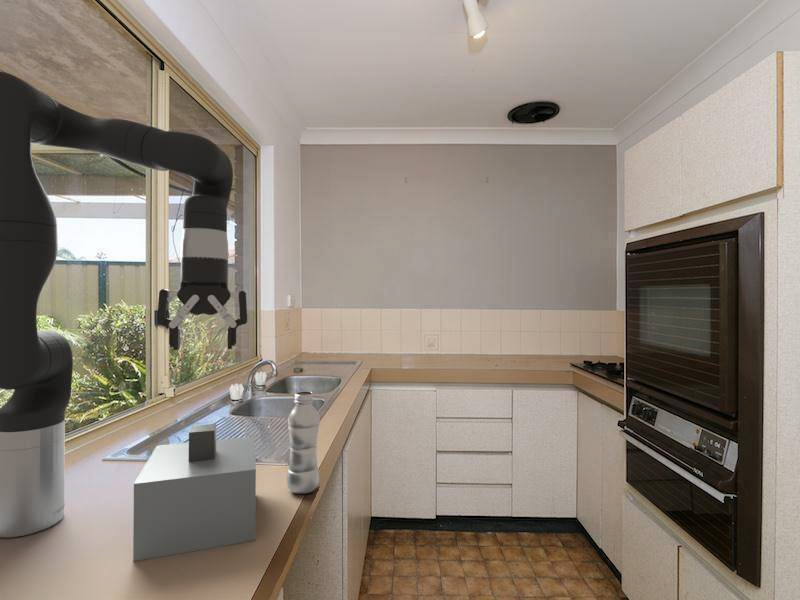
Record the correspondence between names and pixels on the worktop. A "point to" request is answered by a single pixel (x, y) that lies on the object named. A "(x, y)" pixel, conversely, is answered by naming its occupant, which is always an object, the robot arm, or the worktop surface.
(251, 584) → the worktop surface
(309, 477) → the plastic bottle
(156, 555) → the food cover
